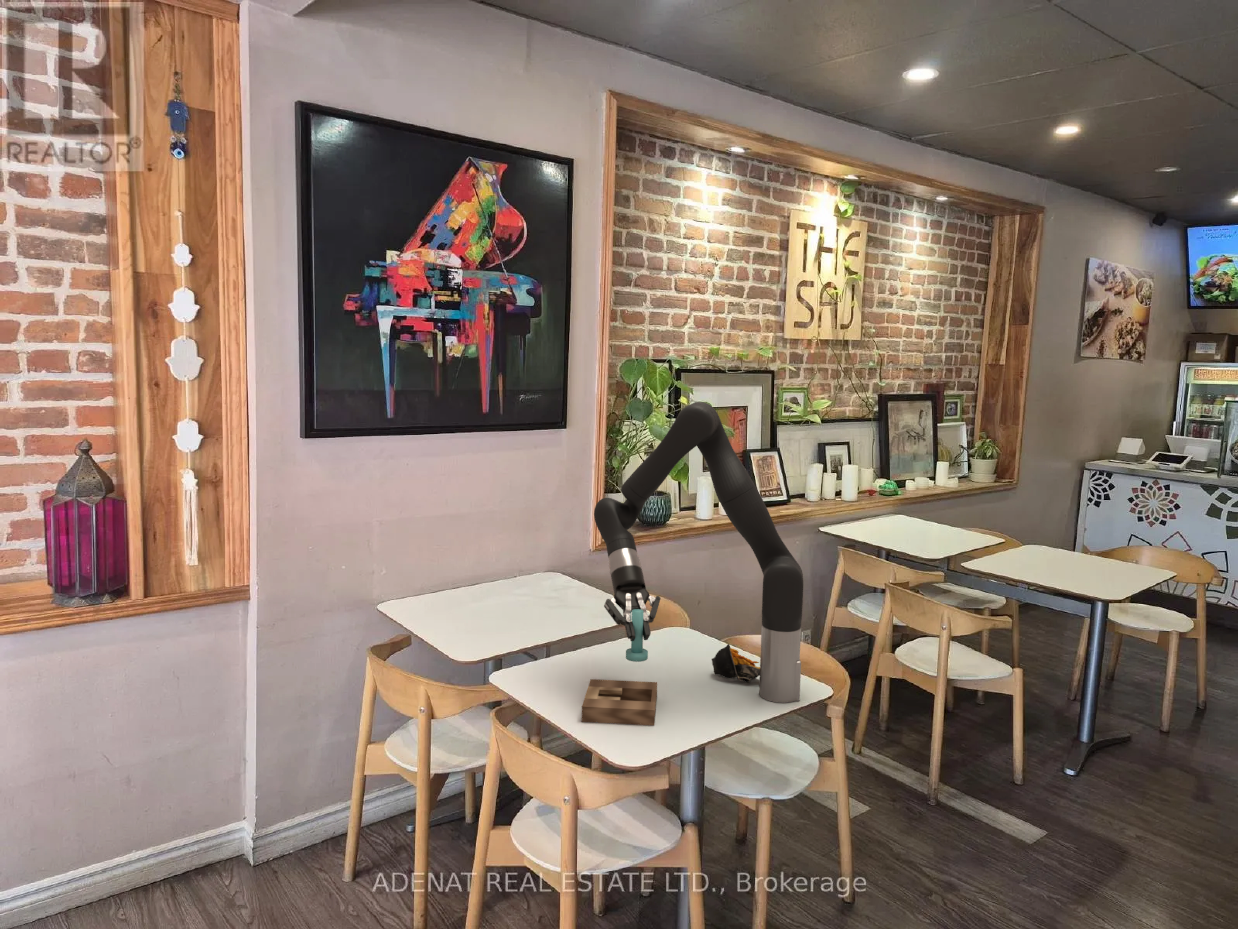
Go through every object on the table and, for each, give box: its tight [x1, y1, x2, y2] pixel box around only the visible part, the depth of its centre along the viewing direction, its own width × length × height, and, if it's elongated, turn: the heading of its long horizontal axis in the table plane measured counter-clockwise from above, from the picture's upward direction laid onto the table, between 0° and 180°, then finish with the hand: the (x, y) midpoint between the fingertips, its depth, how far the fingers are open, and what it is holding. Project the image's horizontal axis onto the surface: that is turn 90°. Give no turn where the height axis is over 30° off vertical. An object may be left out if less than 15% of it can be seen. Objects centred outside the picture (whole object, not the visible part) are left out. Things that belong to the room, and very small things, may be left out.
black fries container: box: [711, 643, 760, 683], centre depth 207 cm, size 9×11×18 cm
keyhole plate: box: [581, 678, 658, 726], centre depth 188 cm, size 16×16×4 cm
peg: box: [625, 609, 649, 663], centre depth 186 cm, size 5×5×11 cm
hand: (639, 638), depth 184 cm, fingers closed on peg, 2 cm apart
